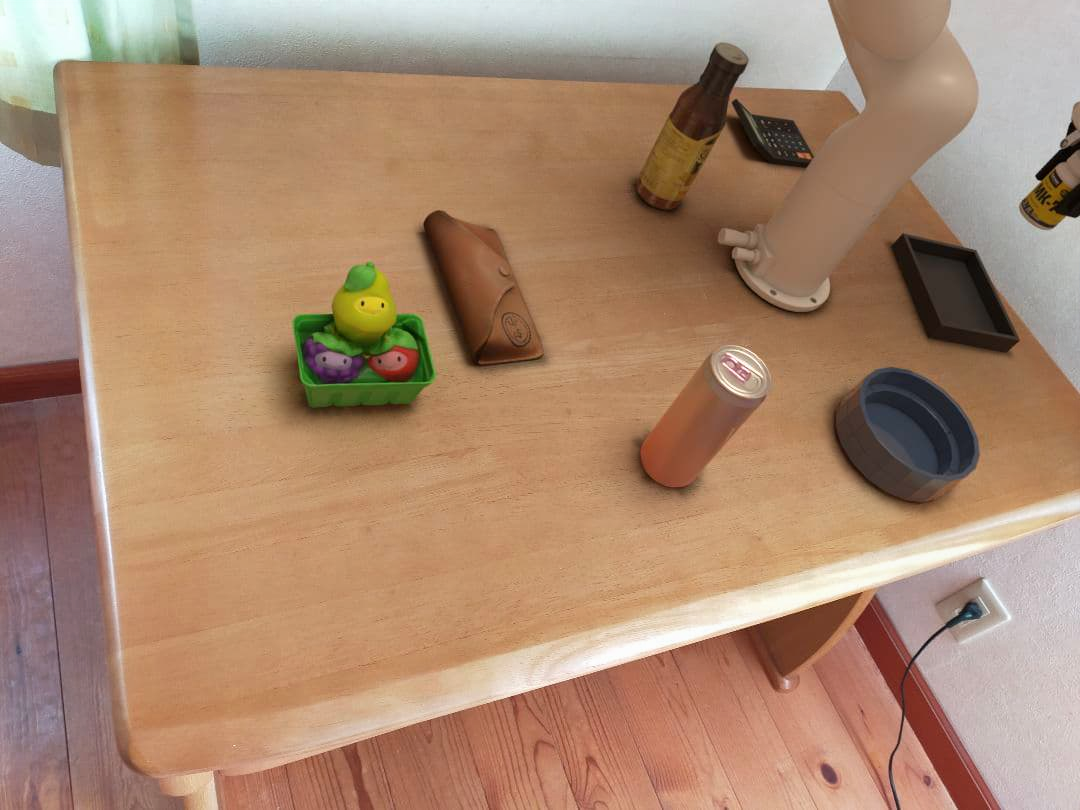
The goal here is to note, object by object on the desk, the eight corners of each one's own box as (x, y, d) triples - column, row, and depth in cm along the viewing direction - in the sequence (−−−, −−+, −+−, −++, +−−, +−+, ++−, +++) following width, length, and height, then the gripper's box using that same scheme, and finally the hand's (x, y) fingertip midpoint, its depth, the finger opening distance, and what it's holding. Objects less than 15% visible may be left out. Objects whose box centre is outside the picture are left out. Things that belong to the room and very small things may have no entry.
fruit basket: (295, 421, 74) (310, 338, 66) (284, 339, 79) (296, 251, 70) (425, 415, 79) (455, 337, 70) (408, 338, 84) (434, 255, 75)
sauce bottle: (677, 219, 108) (758, 82, 92) (630, 200, 107) (704, 58, 92) (682, 187, 112) (760, 51, 97) (637, 169, 111) (708, 28, 96)
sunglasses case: (551, 355, 87) (538, 321, 81) (486, 383, 87) (468, 350, 81) (493, 225, 96) (478, 185, 90) (434, 250, 96) (415, 212, 90)
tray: (1006, 352, 113) (1020, 340, 112) (928, 337, 110) (941, 325, 108) (964, 262, 123) (976, 249, 121) (891, 246, 119) (902, 232, 117)
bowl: (853, 496, 90) (882, 471, 86) (819, 385, 98) (845, 358, 94) (965, 510, 94) (998, 487, 90) (924, 402, 102) (952, 377, 98)
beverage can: (658, 427, 87) (730, 331, 76) (705, 467, 86) (785, 376, 75) (626, 459, 83) (696, 364, 72) (674, 502, 82) (753, 412, 71)
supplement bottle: (1010, 204, 103) (1065, 147, 96) (1032, 200, 105) (1087, 145, 99) (1037, 234, 101) (1095, 178, 94) (1060, 229, 103) (1118, 174, 97)
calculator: (814, 168, 125) (826, 151, 122) (746, 160, 120) (757, 142, 118) (790, 125, 130) (801, 108, 127) (723, 115, 125) (733, 97, 123)
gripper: (1127, 2, 91) (1001, 142, 105) (1208, 103, 81) (1058, 243, 95) (1181, 21, 93) (1051, 156, 107) (1267, 121, 83) (1111, 256, 97)
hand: (1056, 196), depth 101 cm, fingers closed on supplement bottle, 4 cm apart
